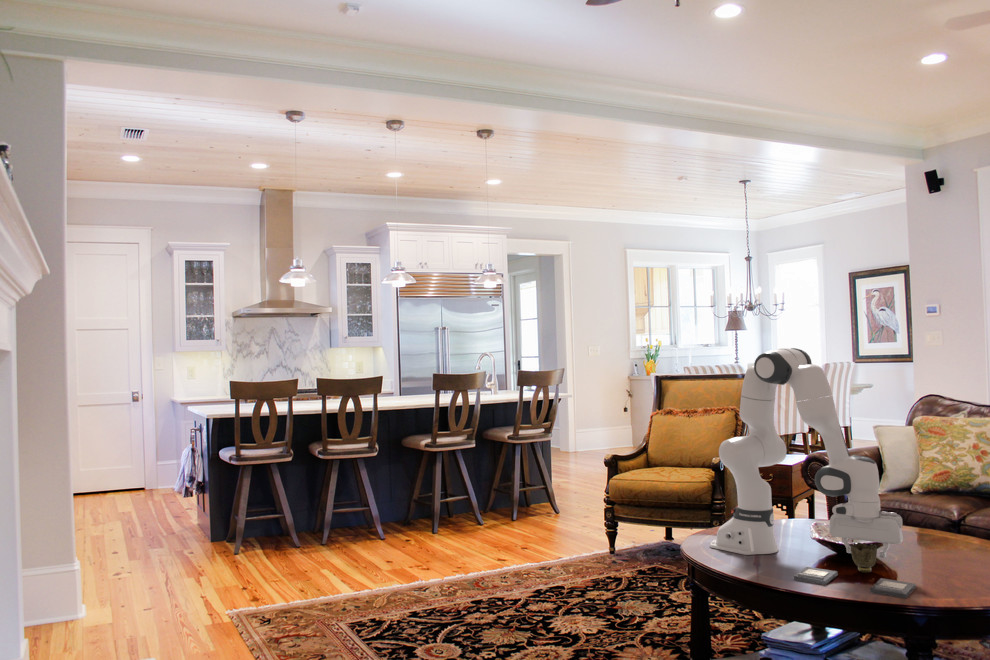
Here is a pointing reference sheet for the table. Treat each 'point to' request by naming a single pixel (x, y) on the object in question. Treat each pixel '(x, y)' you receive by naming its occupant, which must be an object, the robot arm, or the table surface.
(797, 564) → the table surface
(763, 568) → the table surface
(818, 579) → the plates
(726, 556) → the table surface
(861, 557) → the cup
